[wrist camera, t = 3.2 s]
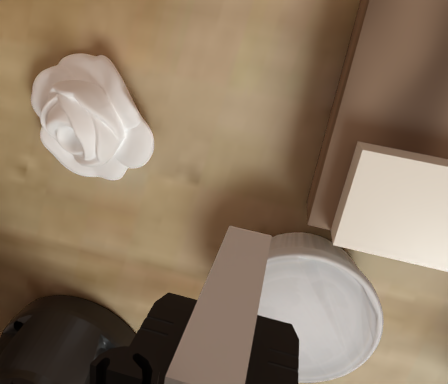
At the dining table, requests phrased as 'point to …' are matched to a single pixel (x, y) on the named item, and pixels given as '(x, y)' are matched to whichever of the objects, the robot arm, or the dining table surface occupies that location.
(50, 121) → the rose
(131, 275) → the dining table surface
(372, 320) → the ramekin
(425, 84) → the deck
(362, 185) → the cream flat block
